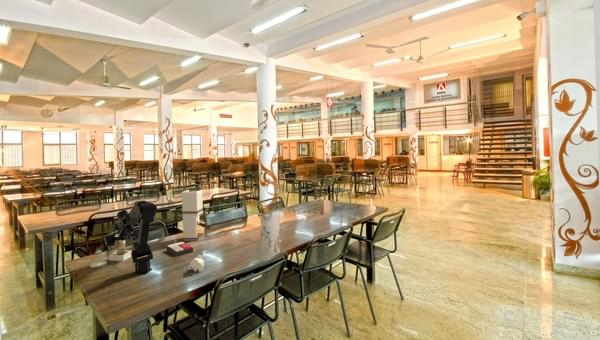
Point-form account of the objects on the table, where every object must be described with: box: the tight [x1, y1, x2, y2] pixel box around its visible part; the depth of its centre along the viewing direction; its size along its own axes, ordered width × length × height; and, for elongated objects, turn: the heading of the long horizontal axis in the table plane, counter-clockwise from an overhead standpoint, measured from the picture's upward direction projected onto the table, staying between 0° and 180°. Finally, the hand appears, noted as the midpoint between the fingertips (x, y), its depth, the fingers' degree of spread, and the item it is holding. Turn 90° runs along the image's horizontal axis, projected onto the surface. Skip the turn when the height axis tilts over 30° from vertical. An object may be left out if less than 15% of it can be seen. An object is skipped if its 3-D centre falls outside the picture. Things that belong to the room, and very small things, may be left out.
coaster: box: [89, 260, 108, 268], centre depth 169 cm, size 8×8×1 cm
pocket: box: [108, 249, 132, 262], centre depth 179 cm, size 9×9×3 cm
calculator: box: [165, 241, 194, 257], centre depth 189 cm, size 11×4×15 cm
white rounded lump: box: [187, 254, 206, 273], centre depth 159 cm, size 8×10×7 cm
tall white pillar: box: [181, 189, 205, 242], centre depth 216 cm, size 11×11×35 cm
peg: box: [115, 235, 127, 255], centre depth 179 cm, size 5×5×13 cm
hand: (120, 244), depth 179 cm, fingers open, 9 cm apart
